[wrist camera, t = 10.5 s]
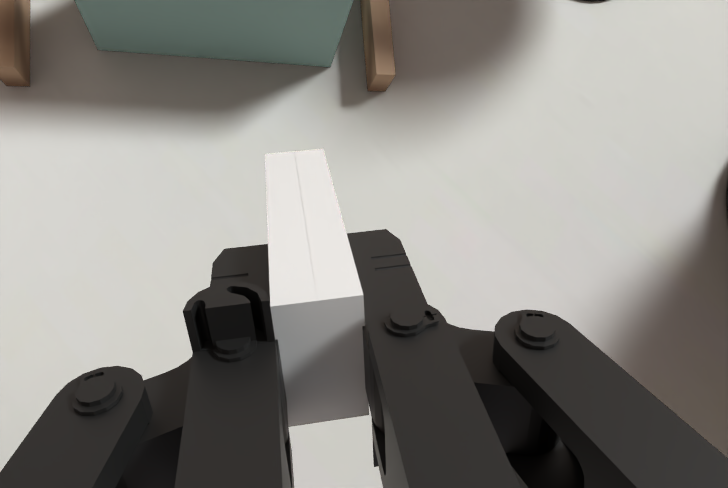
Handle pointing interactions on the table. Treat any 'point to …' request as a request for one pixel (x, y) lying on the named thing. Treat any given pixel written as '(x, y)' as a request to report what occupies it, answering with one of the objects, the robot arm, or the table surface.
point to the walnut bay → (12, 43)
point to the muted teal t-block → (220, 28)
